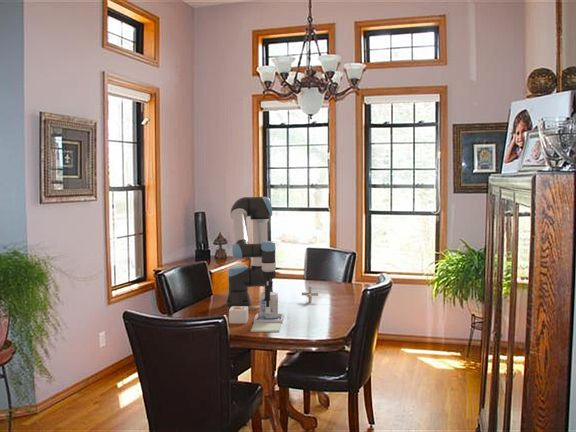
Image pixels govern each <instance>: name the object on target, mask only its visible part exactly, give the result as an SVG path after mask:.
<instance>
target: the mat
mask: <svg viewBox="0 0 576 432" xmlns="http://www.w3.org/2000/svg"><path fill="white" fill-rule="evenodd" d="M281 327H282V324H281V323H254V322H253V325H252V327H251V329H250V333H280V330H281Z"/></svg>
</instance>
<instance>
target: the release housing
mask: <svg viewBox="0 0 576 432" xmlns="http://www.w3.org/2000/svg"><path fill="white" fill-rule="evenodd" d="M234 307H243V309H234ZM248 321H249V306H232V307H230V308H229V310H228V324H247V323H248Z"/></svg>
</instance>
